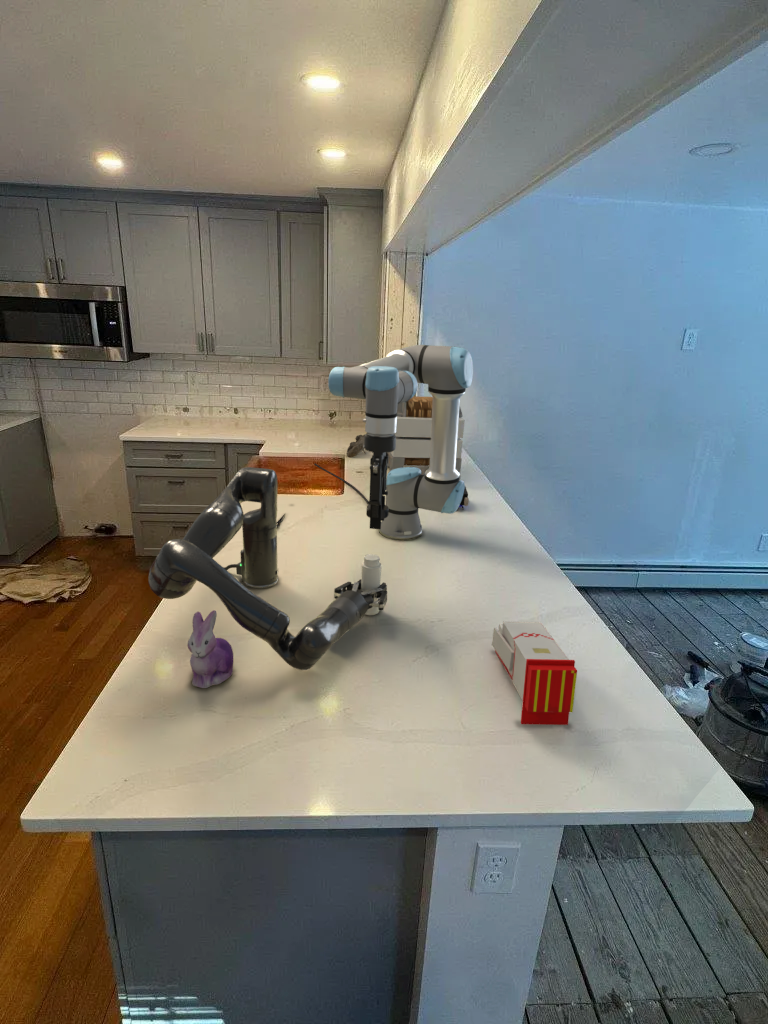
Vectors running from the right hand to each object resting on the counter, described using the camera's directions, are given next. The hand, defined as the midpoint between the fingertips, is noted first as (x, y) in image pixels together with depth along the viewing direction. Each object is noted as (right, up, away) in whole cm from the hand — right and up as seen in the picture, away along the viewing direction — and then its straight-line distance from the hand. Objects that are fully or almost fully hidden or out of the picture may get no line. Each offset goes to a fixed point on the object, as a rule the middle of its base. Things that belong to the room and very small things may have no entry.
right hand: (377, 523), depth 143 cm
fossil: (-12, +35, +163) cm, 167 cm away
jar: (-2, -23, +5) cm, 24 cm away
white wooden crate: (+19, +22, +132) cm, 135 cm away
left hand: (-1, -16, +5) cm, 17 cm away
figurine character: (+32, +5, +88) cm, 94 cm away
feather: (-36, +1, +67) cm, 76 cm away
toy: (+32, -34, -21) cm, 51 cm away
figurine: (-34, -32, -24) cm, 52 cm away
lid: (0, +4, -2) cm, 4 cm away
